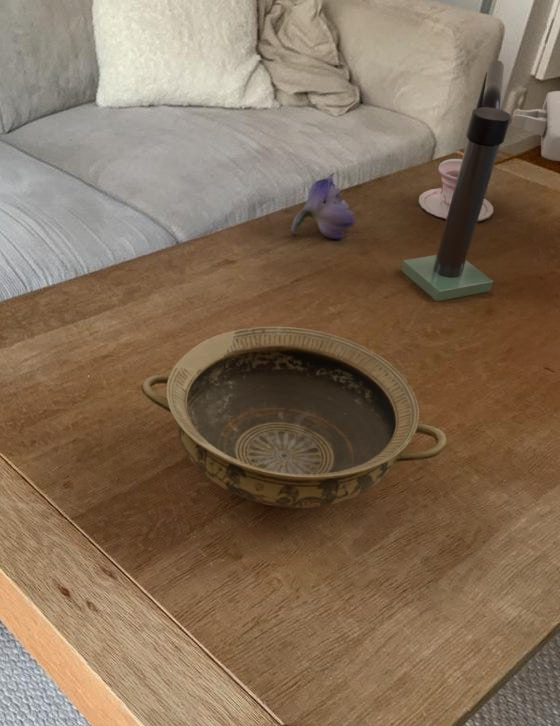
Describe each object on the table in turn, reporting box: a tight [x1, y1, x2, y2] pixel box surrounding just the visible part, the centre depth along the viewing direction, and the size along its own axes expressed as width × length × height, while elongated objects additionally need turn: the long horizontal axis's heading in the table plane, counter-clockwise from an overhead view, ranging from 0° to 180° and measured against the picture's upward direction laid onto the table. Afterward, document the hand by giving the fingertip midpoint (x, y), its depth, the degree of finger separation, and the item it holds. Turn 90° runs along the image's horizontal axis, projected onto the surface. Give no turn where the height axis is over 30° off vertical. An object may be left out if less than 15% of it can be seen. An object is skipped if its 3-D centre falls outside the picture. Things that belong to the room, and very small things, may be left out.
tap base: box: [400, 138, 501, 302], centre depth 109 cm, size 9×9×20 cm
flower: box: [290, 172, 355, 241], centre depth 122 cm, size 9×9×10 cm
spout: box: [465, 59, 512, 145], centre depth 112 cm, size 29×5×11 cm, turn 163°
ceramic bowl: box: [141, 325, 448, 509], centre depth 81 cm, size 30×24×10 cm
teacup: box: [418, 158, 494, 222], centre depth 132 cm, size 12×12×6 cm
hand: (512, 118), depth 123 cm, fingers closed
